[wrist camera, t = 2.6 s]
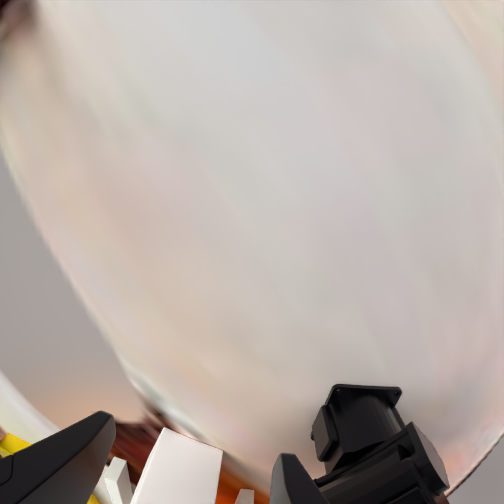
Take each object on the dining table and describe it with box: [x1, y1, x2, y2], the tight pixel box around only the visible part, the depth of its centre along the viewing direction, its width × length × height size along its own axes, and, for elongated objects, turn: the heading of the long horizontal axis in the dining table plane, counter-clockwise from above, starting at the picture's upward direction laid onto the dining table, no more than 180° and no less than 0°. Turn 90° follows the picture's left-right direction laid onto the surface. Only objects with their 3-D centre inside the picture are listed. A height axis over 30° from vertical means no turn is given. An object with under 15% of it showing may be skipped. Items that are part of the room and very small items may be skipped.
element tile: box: [0, 433, 101, 504], centre depth 26 cm, size 15×15×5 cm
